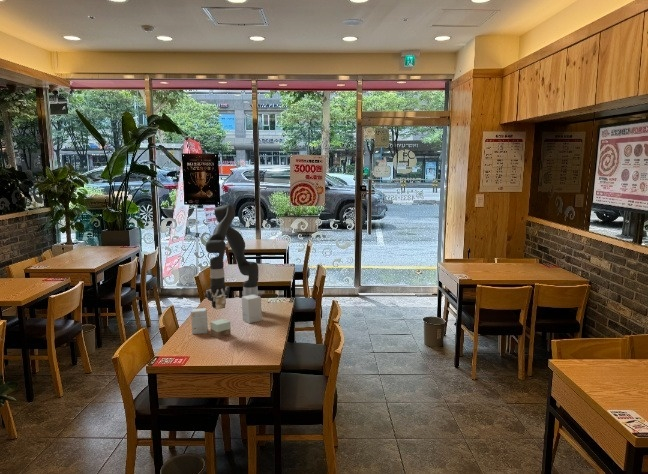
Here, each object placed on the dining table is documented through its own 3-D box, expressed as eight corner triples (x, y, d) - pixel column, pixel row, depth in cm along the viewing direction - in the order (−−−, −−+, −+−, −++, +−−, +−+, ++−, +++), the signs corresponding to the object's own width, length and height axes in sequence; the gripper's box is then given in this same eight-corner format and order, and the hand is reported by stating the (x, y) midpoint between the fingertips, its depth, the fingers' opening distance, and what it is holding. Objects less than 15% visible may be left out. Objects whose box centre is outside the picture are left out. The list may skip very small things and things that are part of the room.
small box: (207, 329, 262) (206, 307, 260) (206, 333, 256) (205, 310, 254) (193, 330, 260) (192, 308, 259) (192, 334, 254) (190, 311, 253)
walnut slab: (223, 332, 258) (223, 325, 257) (230, 335, 252) (230, 328, 251) (210, 335, 253) (210, 328, 252) (217, 339, 247) (217, 332, 246)
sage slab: (223, 325, 257) (223, 318, 257) (230, 328, 251) (230, 321, 251) (210, 328, 252) (210, 321, 251) (217, 332, 246) (217, 324, 245)
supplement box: (262, 320, 277) (261, 296, 275) (249, 323, 271) (248, 299, 269) (255, 317, 284) (254, 294, 282) (242, 320, 278) (241, 296, 277)
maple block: (221, 306, 254) (220, 295, 253) (225, 307, 250) (224, 297, 249) (212, 307, 250) (212, 297, 250) (216, 309, 247) (216, 298, 246)
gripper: (226, 273, 255) (227, 303, 257) (202, 277, 246) (203, 307, 248) (232, 275, 250) (233, 305, 252) (208, 279, 241) (209, 310, 243)
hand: (218, 306), depth 250 cm, fingers closed on maple block, 5 cm apart
